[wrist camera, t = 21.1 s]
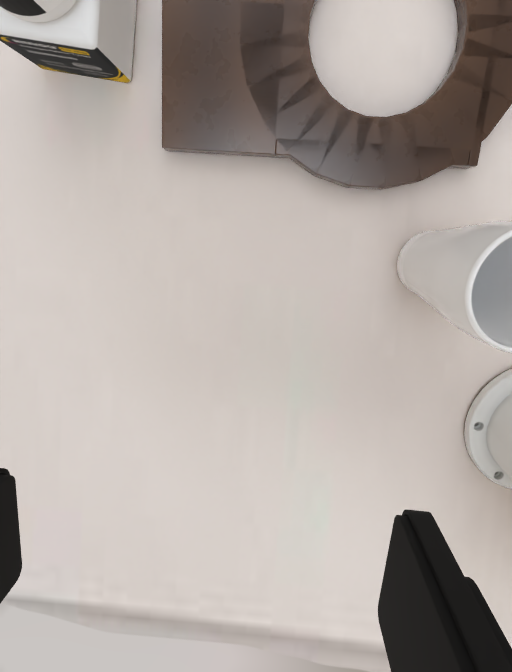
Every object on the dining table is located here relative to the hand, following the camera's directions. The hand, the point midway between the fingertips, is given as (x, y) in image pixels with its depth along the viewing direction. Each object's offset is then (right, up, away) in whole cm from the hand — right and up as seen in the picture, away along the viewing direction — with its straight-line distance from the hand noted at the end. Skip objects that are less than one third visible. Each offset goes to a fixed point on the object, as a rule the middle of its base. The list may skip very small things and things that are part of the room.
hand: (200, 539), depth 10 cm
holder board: (+8, +27, +21) cm, 35 cm away
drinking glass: (+16, +11, +25) cm, 32 cm away
